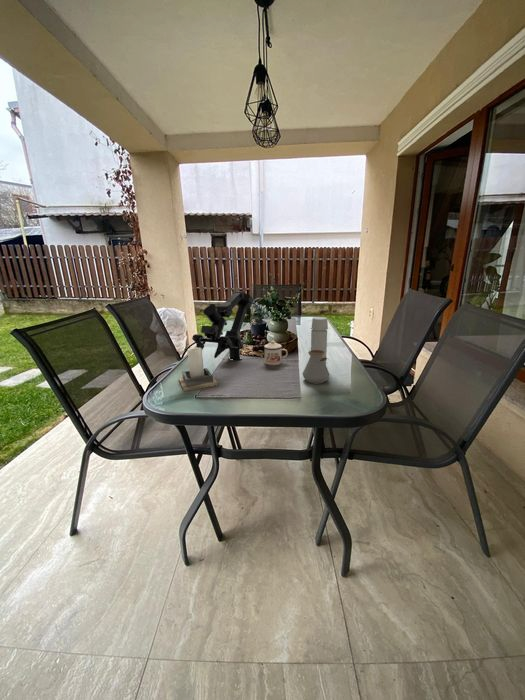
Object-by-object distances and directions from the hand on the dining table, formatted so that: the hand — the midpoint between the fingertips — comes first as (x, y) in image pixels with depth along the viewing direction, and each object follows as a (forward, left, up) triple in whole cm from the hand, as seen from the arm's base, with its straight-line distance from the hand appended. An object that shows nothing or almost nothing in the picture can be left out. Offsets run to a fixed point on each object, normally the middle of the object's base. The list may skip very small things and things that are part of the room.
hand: (206, 356), depth 130 cm
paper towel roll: (+5, -6, -8) cm, 11 cm away
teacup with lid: (-3, +36, -10) cm, 38 cm away
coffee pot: (+31, +39, -10) cm, 51 cm away
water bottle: (+16, +49, -10) cm, 53 cm away
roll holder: (+5, -6, -9) cm, 12 cm away
